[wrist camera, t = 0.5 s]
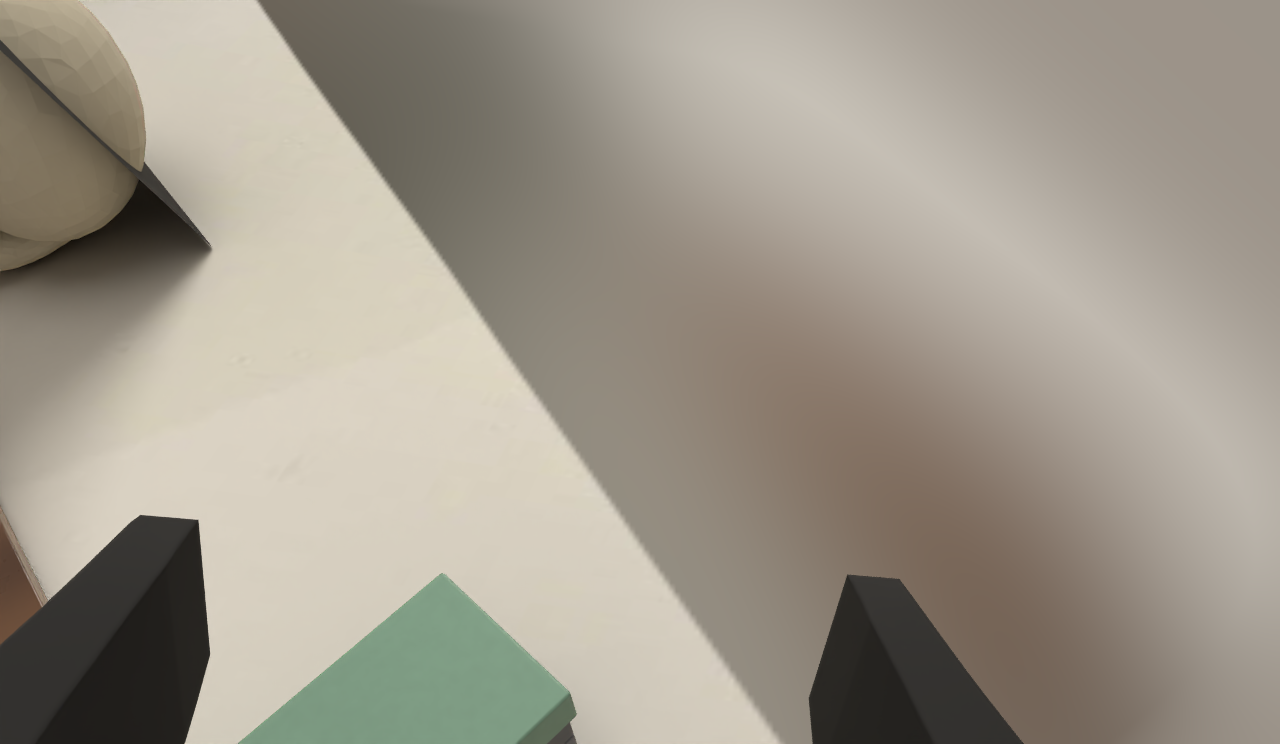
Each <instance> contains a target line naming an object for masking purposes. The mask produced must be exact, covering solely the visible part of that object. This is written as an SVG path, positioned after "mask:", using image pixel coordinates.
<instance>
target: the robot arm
mask: <svg viewBox="0 0 1280 744" xmlns="http://www.w3.org/2000/svg"><path fill="white" fill-rule="evenodd" d="M209 657H210V647H209V636H208V624H207V613H206V602H205V590H204V579H203V567H202V556H201V545H200V533H199V522H198V520H193V519H181V518H169V517H157V516H145V515H140V516H139V517H137V518H136V519H134V520H133V521H132V522H130V523H129V524H128V525H127V526H126V527H125V528H124V529H123V530H122V531H121V532H120V533H119V534H118V535H117V536H116V537H115V538H114V539H113V540H112V541H111V542H110V543H109V544H108V545H107V546H106V547H105V548H104V549H103V550H102V551H100V552H99V553H98V554H97V555H96V556H95V557H94V558H93V559H92V560H91V561H90V562H89V563H88V564H87V565H86V566H85V567H84V568H83V569H82V570H81V571H80V572H79V573H78V574H77V575H76V576H75V577H74V578H72V579H71V580H70V581H69V582H68V583H67V584H66V585H65V586H64V587H63V588H62V589H61V590H60V591H59V592H58V593H57V594H55V595H54V596H53V597H52V598H51V599H50V600H49V601H48V602H47V603H46V604H45V605H44V606H43V607H41V608H40V609H39V610H38V611H37V612H36V613H35V614H34V615H33V616H31V617H30V618H29V619H28V620H27V621H26V622H25V623H24V624H23V625H21V626H20V627H19V628H18V629H17V630H16V631H15V632H14V633H13V634H11V635H10V636H9V637H8V638H7V639H6V640H5V641H4V642H2V643H1V644H0V744H185V741H186V738H187V734H188V731H189V727H190V724H191V721H192V717H193V714H194V711H195V707H196V704H197V700H198V697H199V693H200V689H201V686H202V682H203V678H204V675H205V671H206V668H207V664H208V660H209ZM809 706H810V716H811V717H810V718H811V729H812V740H813V744H1024V743H1023V742H1022V741H1021V740H1020V739H1019V737H1018V736H1017V735H1016V734H1015V733H1014V731H1013V730H1012V729H1011V727H1010V726H1009V725H1008V724H1007V722H1006V721H1005V720H1004V718H1003V717H1002V716H1001V715H1000V713H999V712H998V711H997V710H996V708H995V707H994V706H993V704H992V703H991V702H990V701H989V699H988V698H987V697H986V696H985V694H984V693H983V692H982V690H981V689H980V688H979V686H978V685H977V684H976V682H975V681H974V680H973V679H972V677H971V676H970V675H969V673H968V672H967V671H966V669H965V668H964V667H963V665H962V664H961V662H960V661H959V660H958V658H957V657H956V656H955V654H954V653H953V652H952V650H951V649H950V648H949V646H948V645H947V643H946V642H945V641H944V639H943V638H942V637H941V636H940V634H939V633H938V631H937V630H936V628H935V627H934V626H933V624H932V623H931V621H930V620H929V619H928V617H927V616H926V614H925V613H924V612H923V611H922V609H921V608H920V606H919V605H918V604H917V602H916V601H915V599H914V598H913V597H912V595H911V594H910V593H909V591H908V590H907V589H906V587H905V586H904V585H903V584H902V582H901V581H900V579H892V578H881V577H868V576H856V575H847V578H846V581H845V584H844V587H843V590H842V594H841V597H840V600H839V603H838V606H837V610H836V613H835V616H834V620H833V623H832V626H831V629H830V632H829V636H828V638H827V642H826V645H825V648H824V651H823V655H822V658H821V661H820V664H819V667H818V671H817V674H816V677H815V680H814V684H813V687H812V690H811V693H810V697H809Z"/></svg>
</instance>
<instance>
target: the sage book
mask: <svg viewBox="0 0 1280 744" xmlns="http://www.w3.org/2000/svg"><path fill="white" fill-rule="evenodd" d="M576 714H577V713H576V710H575V707H574V704H573V701H572V697H571V694H570V692H569V691H568V690H567V689H566V688H565V687H564V686H563V685H562V684H560V683H559V682H558V681H557V680H556V679H555V678H554V677H553V676H552V675H551V674H550V673H549V672H548V671H547V670H546V669H545V668H544V667H542V666H541V665H540V664H539V663H538V662H537V661H536V660H535V659H534V658H533V657H532V656H531V655H530V654H529V653H528V652H527V651H526V650H524V649H523V648H522V647H521V646H520V645H519V644H518V643H517V642H516V641H515V640H514V639H513V638H512V637H511V636H510V635H509V634H508V633H506V632H505V631H504V630H503V629H502V628H501V627H500V626H499V625H498V624H497V623H496V622H495V621H494V620H493V619H492V618H491V617H490V616H488V615H487V614H486V613H485V612H484V611H483V610H482V609H481V608H480V607H479V606H478V605H477V604H476V603H475V602H474V601H473V600H472V599H470V598H469V597H468V596H467V595H466V594H465V593H464V592H463V591H462V590H461V589H460V588H459V587H458V586H457V585H456V584H455V583H454V582H452V581H451V580H450V579H449V578H448V577H447V576H446V575H445V574H443V573H442V574H440V575H439V576H437V577H436V578H435V579H434V580H433V581H431V582H430V583H429V584H428V585H427V586H425V587H424V588H423V589H422V590H421V591H419V592H418V593H417V594H416V595H415V596H414V597H412V598H411V599H410V600H409V601H408V602H406V603H405V604H404V605H403V606H402V607H400V608H399V609H398V610H397V611H396V612H394V613H393V614H392V615H391V616H390V617H388V618H387V619H386V620H385V621H384V622H382V623H381V624H380V625H379V626H378V627H376V628H375V629H374V630H373V631H372V632H371V633H369V634H368V635H367V636H366V637H365V638H363V639H362V640H361V641H360V642H359V643H357V644H356V645H355V646H354V647H353V648H351V649H350V650H349V651H348V652H347V653H345V654H344V655H343V656H342V657H341V658H339V659H338V660H337V661H336V662H335V663H334V664H332V665H331V666H330V667H329V668H328V669H326V670H325V671H324V672H323V673H322V674H320V675H319V676H318V677H317V678H316V679H314V680H313V681H312V682H311V683H310V684H308V685H307V686H306V687H305V688H304V689H302V690H301V691H300V692H299V693H298V694H296V695H295V696H294V697H293V698H292V699H291V700H289V701H288V702H287V703H286V704H285V705H283V706H282V707H281V708H280V709H279V710H277V711H276V712H275V713H274V714H273V715H271V716H270V717H269V718H268V719H267V720H265V721H264V722H263V723H262V724H261V725H259V726H258V727H257V728H256V729H255V730H253V731H252V732H251V733H250V734H249V735H248V736H246V737H245V738H244V739H243V740H242V741H240V742H239V743H238V744H547V743H548V742H549V741H550V740H551V739H553V738H554V737H555V736H556V735H557V734H558V733H559V732H560V731H561V730H562V729H563V728H564V727H565V726H566V725H567V724H568V723H569V722H570V721H571V720H572V719H573V718H574V717H575V716H576Z"/></svg>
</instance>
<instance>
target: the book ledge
mask: <svg viewBox="0 0 1280 744" xmlns="http://www.w3.org/2000/svg"><path fill="white" fill-rule="evenodd" d="M47 602H48V600H47V598H46V596H45V594H44V592H43V590H42V588H41V586H40V584H39V582H38V580H37V578H36V576H35V574H34V572H33V570H32V568H31V566H30V564H29V562H28V560H27V558H26V556H25V554H24V552H23V550H22V548H21V546H20V544H19V542H18V540H17V538H16V536H15V534H14V532H13V530H12V528H11V526H10V524H9V522H8V520H7V518H6V516H5V514H4V512H3V510H2V509H1V507H0V644H1V643H2V642H4V641H5V640H6V639H7V638H8V637H9V636H10V635H11V634H13V633H14V632H15V631H16V630H17V629H18V628H19V627H20V626H21V625H23V624H24V623H25V622H26V621H27V620H28V619H29V618H30V617H31V616H33V615H34V614H35V613H36V612H37V611H38V610H39V609H40V608H41V607H43V606H44V605H45V604H46V603H47Z"/></svg>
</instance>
